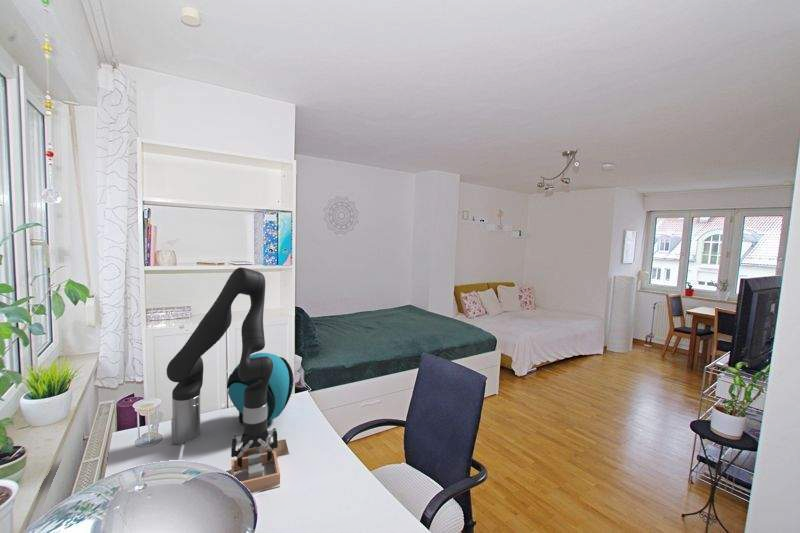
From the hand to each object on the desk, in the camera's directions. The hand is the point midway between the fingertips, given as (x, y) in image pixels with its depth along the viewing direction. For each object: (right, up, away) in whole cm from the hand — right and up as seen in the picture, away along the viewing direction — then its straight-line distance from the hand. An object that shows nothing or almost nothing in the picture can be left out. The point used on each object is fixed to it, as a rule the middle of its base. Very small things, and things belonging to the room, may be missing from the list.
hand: (254, 463), depth 119 cm
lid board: (-2, -3, +11) cm, 12 cm away
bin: (+1, -4, -2) cm, 5 cm away
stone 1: (0, -3, +1) cm, 3 cm away
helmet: (-11, -1, +32) cm, 34 cm away
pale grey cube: (-2, -2, +12) cm, 13 cm away
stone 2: (+2, -4, -4) cm, 6 cm away
